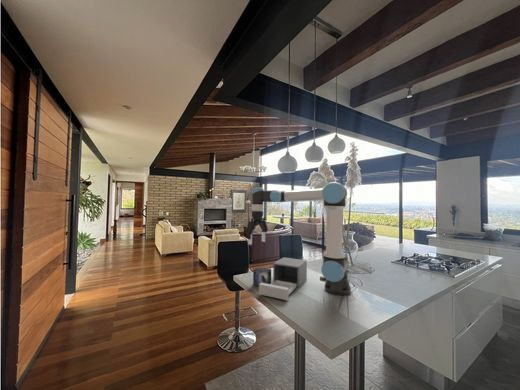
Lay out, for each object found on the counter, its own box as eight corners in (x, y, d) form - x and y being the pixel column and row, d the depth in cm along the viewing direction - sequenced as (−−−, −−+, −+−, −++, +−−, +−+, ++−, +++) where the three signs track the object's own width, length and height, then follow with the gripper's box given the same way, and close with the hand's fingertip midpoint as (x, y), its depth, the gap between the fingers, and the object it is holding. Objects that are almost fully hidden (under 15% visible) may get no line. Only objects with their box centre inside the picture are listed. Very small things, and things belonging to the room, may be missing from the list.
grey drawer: (298, 287, 136) (298, 278, 136) (286, 300, 117) (286, 289, 117) (273, 282, 143) (273, 273, 144) (258, 294, 125) (258, 284, 125)
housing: (306, 280, 151) (306, 260, 152) (298, 289, 135) (298, 266, 136) (283, 276, 159) (283, 257, 160) (273, 284, 143) (273, 263, 144)
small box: (252, 286, 140) (252, 269, 140) (256, 282, 146) (256, 266, 146) (268, 288, 136) (268, 271, 136) (271, 285, 142) (271, 268, 142)
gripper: (264, 210, 158) (264, 239, 157) (240, 210, 139) (239, 244, 138) (273, 210, 153) (272, 241, 152) (248, 211, 134) (248, 246, 133)
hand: (256, 242), depth 145 cm, fingers open, 13 cm apart
